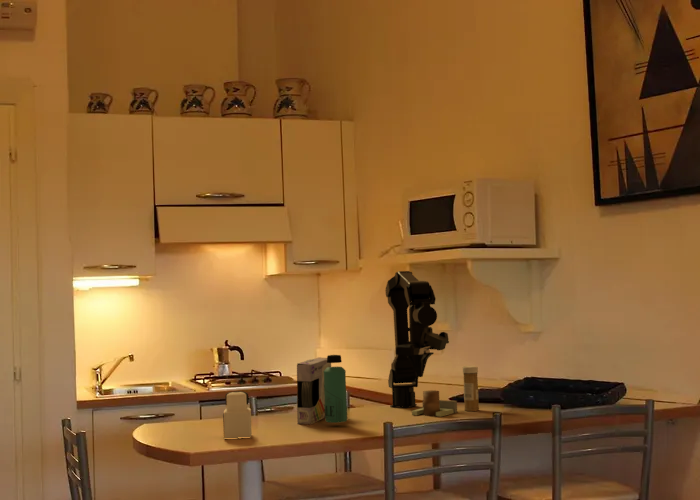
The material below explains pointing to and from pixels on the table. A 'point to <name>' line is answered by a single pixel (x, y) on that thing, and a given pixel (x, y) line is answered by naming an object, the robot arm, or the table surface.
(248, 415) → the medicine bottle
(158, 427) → the table surface
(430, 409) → the brown piece
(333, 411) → the beverage bottle
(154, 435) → the table surface
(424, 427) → the table surface
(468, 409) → the sprinkles bottle
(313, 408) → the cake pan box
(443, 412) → the bracket
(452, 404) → the backstop wall
